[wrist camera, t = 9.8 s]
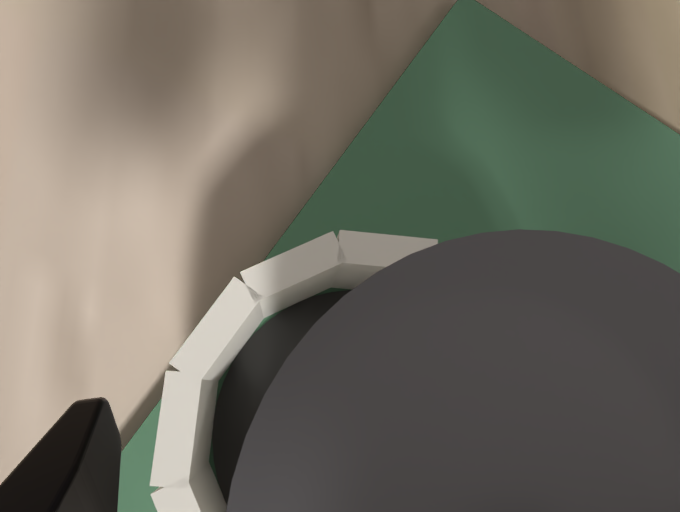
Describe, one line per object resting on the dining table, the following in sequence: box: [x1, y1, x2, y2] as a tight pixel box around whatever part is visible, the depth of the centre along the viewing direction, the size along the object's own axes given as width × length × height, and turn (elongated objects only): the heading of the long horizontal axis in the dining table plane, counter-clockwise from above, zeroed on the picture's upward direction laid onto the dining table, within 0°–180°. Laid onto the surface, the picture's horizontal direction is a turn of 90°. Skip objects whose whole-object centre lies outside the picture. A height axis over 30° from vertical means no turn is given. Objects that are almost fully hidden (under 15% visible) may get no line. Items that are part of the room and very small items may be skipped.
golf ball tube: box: [226, 229, 680, 512], centre depth 10 cm, size 5×5×12 cm
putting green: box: [117, 0, 680, 512], centre depth 16 cm, size 20×20×4 cm
